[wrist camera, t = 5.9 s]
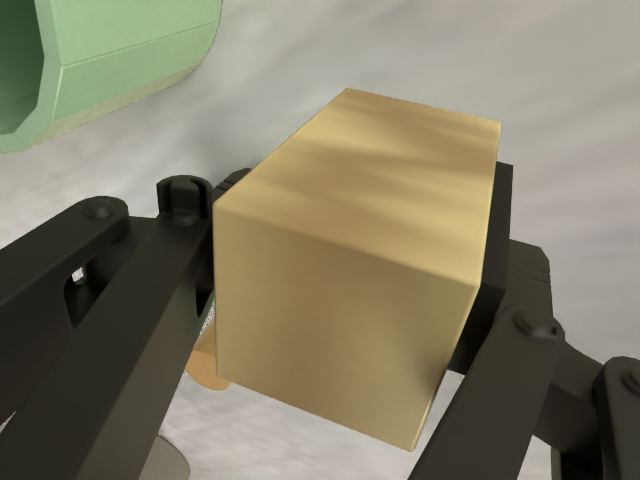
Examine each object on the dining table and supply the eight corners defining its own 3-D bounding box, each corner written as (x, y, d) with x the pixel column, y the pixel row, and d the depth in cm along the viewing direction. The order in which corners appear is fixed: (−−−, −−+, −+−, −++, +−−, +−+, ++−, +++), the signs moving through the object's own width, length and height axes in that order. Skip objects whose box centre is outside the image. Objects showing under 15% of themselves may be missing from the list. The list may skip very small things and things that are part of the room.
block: (501, 121, 14) (481, 284, 8) (456, 252, 17) (413, 455, 11) (346, 86, 16) (210, 202, 9) (327, 215, 18) (214, 377, 12)
